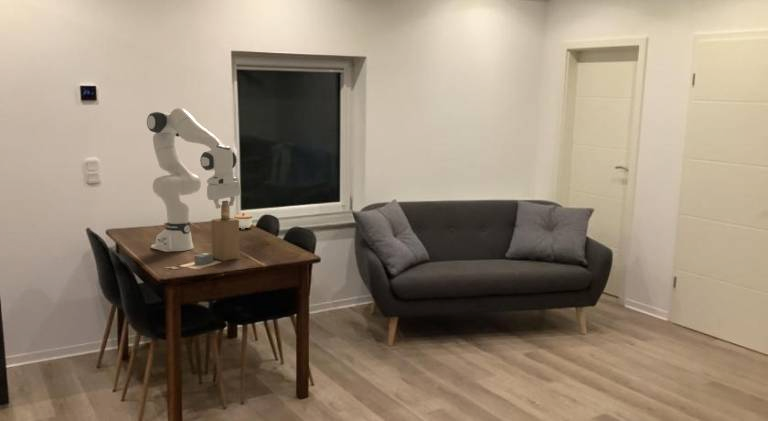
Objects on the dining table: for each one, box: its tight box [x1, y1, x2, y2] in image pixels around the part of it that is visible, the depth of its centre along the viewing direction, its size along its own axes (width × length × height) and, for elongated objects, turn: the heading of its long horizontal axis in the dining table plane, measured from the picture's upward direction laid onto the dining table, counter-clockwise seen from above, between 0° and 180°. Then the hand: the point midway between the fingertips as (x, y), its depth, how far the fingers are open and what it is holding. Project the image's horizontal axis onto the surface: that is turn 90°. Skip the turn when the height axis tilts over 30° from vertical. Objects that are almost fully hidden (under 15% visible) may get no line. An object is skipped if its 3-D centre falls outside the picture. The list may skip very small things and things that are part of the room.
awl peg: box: [220, 200, 231, 220], centre depth 325 cm, size 4×4×9 cm
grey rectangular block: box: [193, 252, 214, 265], centre depth 317 cm, size 5×7×4 cm
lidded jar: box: [233, 212, 253, 230], centre depth 406 cm, size 11×11×9 cm
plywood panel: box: [179, 260, 222, 270], centre depth 315 cm, size 12×16×1 cm
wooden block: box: [210, 217, 241, 261], centre depth 328 cm, size 10×10×20 cm
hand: (224, 206), depth 325 cm, fingers open, 8 cm apart
